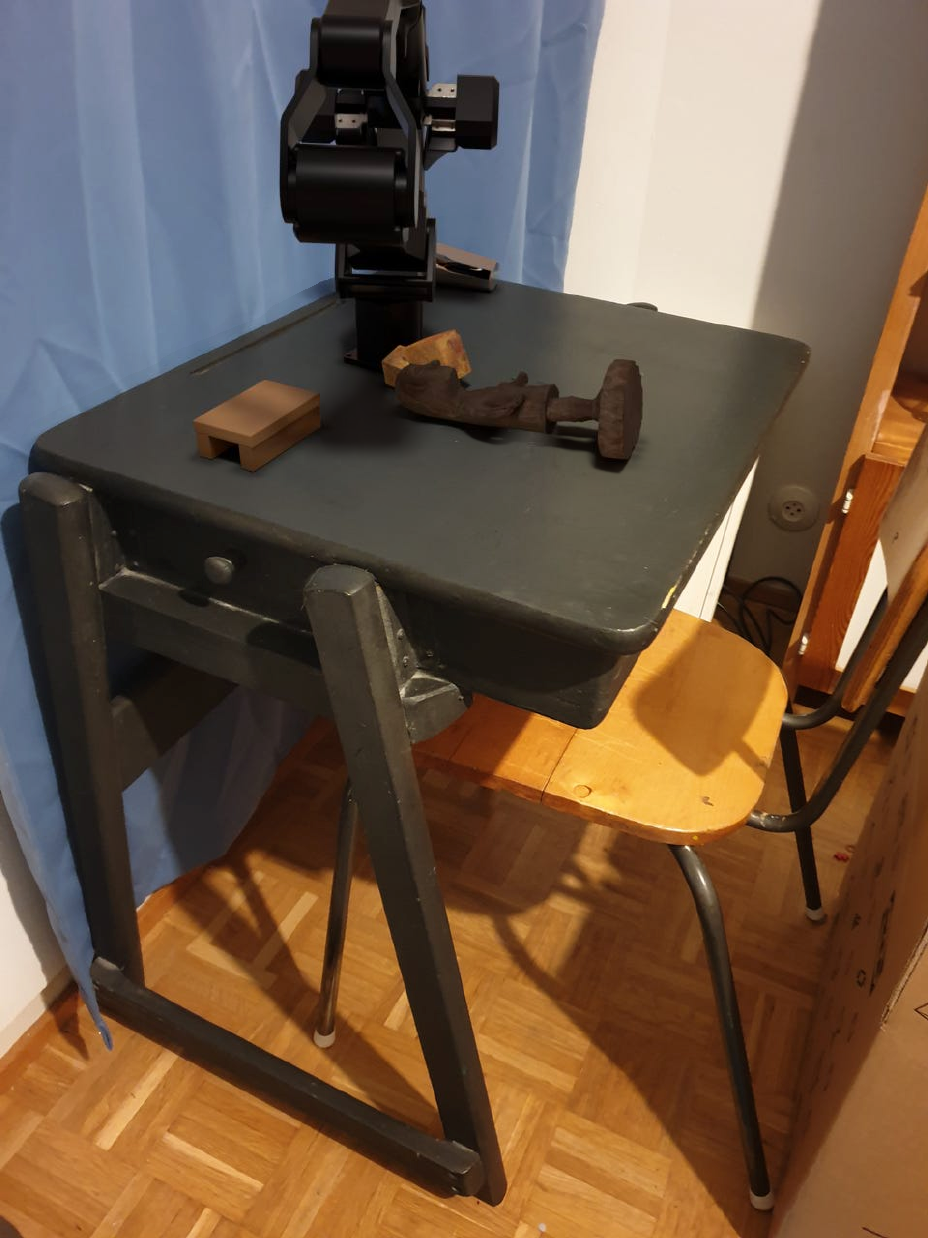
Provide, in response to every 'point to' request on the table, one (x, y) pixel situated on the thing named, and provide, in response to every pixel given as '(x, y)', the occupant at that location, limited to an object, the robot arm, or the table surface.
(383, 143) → the grey stepped block
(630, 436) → the figurine
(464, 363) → the pyrite
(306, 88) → the robot arm
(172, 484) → the table surface
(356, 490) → the table surface
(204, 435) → the wooden footstool
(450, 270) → the milkshake
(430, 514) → the table surface
